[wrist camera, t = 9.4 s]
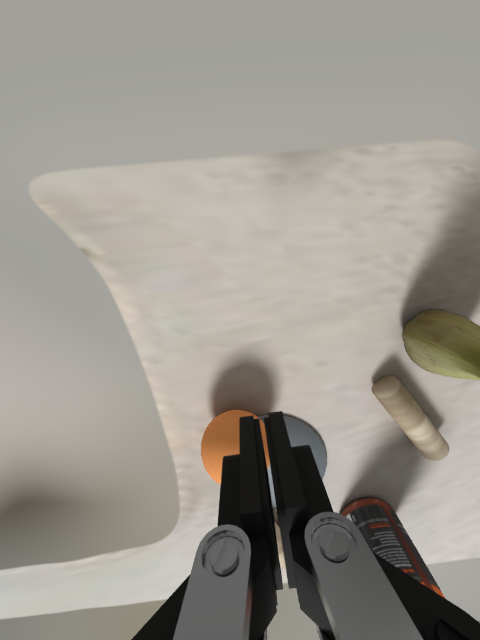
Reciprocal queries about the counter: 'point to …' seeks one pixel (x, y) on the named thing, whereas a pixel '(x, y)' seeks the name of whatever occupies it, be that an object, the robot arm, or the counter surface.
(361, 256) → the counter surface
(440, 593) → the supplement bottle
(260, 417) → the light blue plate
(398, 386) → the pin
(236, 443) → the ball
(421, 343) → the fennel bulb
